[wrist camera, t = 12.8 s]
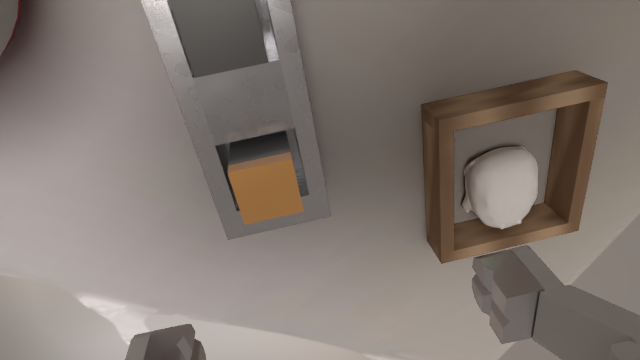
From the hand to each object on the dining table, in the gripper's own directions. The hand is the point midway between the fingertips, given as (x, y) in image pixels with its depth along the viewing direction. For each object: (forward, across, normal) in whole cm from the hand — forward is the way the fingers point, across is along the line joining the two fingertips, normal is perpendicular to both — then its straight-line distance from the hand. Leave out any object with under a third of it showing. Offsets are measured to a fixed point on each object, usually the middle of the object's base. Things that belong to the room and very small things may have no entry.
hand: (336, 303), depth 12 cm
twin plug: (+21, +3, -5) cm, 22 cm away
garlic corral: (+22, -17, +12) cm, 31 cm away
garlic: (+23, -17, +14) cm, 32 cm away
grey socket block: (+22, +3, 0) cm, 22 cm away
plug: (+21, +3, +5) cm, 22 cm away
